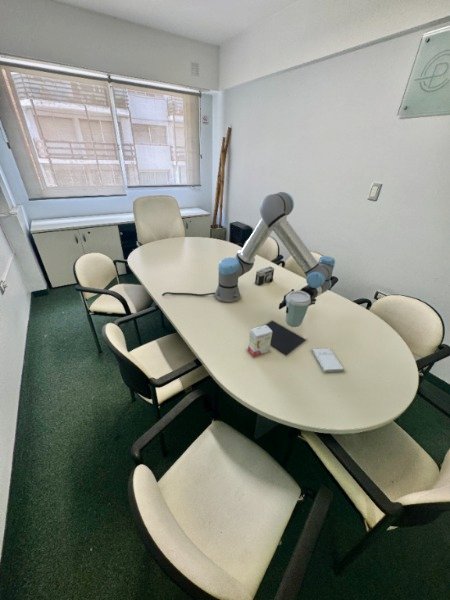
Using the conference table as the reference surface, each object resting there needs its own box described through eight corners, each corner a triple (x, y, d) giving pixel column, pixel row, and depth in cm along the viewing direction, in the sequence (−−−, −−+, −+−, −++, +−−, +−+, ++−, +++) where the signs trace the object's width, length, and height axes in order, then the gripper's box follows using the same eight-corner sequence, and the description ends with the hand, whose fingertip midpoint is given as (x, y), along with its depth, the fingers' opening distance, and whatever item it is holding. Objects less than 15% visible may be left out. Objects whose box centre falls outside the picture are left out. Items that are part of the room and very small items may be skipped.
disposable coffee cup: (292, 333, 105) (298, 304, 97) (276, 320, 113) (281, 292, 105) (309, 326, 110) (317, 298, 102) (293, 314, 118) (299, 287, 110)
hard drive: (324, 372, 99) (312, 351, 110) (343, 371, 100) (329, 350, 110) (325, 369, 98) (313, 348, 109) (344, 368, 99) (330, 347, 109)
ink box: (253, 357, 105) (256, 336, 99) (247, 350, 109) (249, 329, 103) (269, 351, 108) (273, 330, 102) (263, 344, 112) (266, 324, 106)
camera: (263, 288, 160) (265, 274, 155) (254, 283, 165) (255, 270, 160) (277, 282, 168) (279, 269, 163) (268, 278, 173) (269, 265, 168)
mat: (252, 333, 119) (252, 333, 119) (272, 321, 128) (272, 320, 128) (286, 355, 107) (286, 354, 106) (305, 340, 116) (305, 339, 116)
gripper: (323, 304, 118) (297, 323, 104) (295, 292, 127) (267, 307, 113) (327, 291, 114) (301, 309, 100) (298, 279, 124) (269, 294, 109)
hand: (283, 308), depth 107 cm, fingers closed on disposable coffee cup, 3 cm apart
